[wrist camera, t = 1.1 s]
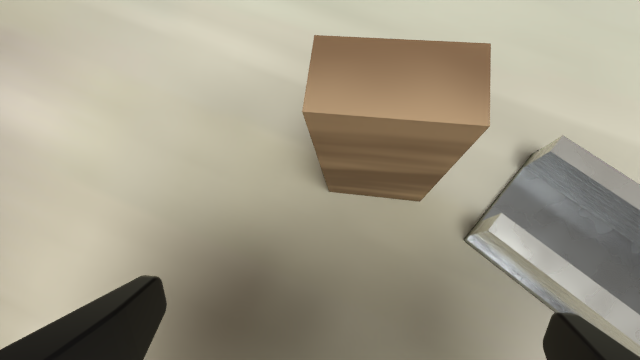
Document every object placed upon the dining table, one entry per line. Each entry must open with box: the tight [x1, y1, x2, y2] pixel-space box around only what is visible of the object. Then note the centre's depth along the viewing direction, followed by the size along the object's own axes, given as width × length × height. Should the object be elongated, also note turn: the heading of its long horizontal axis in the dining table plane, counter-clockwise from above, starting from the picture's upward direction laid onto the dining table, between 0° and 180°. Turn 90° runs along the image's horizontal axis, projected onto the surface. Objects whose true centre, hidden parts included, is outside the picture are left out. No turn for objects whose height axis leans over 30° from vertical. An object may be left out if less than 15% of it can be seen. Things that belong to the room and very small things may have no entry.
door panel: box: [302, 35, 491, 201], centre depth 17 cm, size 3×6×12 cm, turn 82°
